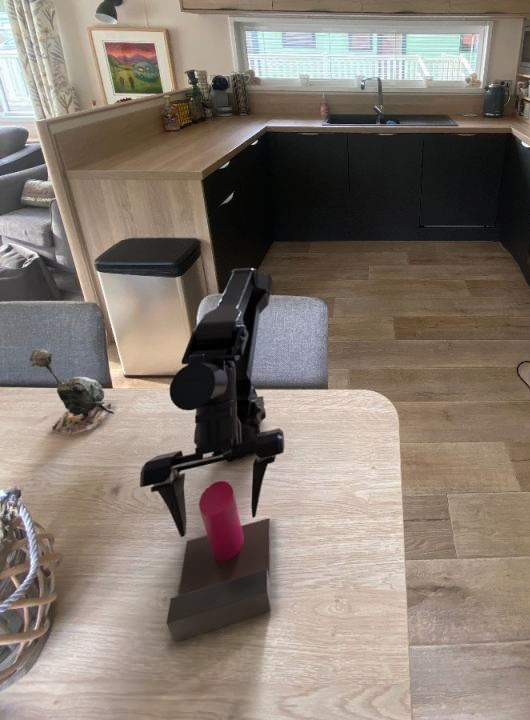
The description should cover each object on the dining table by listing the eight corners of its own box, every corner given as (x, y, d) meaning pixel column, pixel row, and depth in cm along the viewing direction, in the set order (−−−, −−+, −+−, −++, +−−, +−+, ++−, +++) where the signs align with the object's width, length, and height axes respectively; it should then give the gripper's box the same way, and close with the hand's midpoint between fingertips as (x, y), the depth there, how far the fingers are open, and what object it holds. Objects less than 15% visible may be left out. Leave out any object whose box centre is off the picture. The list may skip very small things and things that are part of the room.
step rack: (189, 548, 59) (183, 528, 57) (270, 525, 62) (267, 505, 60) (174, 643, 50) (166, 623, 48) (271, 610, 53) (267, 591, 51)
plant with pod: (91, 445, 74) (58, 365, 66) (46, 431, 77) (9, 352, 69) (127, 409, 81) (101, 334, 73) (85, 397, 84) (55, 323, 76)
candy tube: (224, 522, 60) (213, 476, 56) (249, 531, 59) (239, 486, 55) (205, 555, 57) (191, 509, 52) (231, 566, 55) (219, 519, 51)
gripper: (281, 388, 69) (289, 491, 63) (166, 411, 64) (164, 525, 59) (278, 391, 59) (287, 514, 53) (141, 419, 54) (135, 556, 49)
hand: (219, 526), depth 54 cm, fingers open, 9 cm apart
